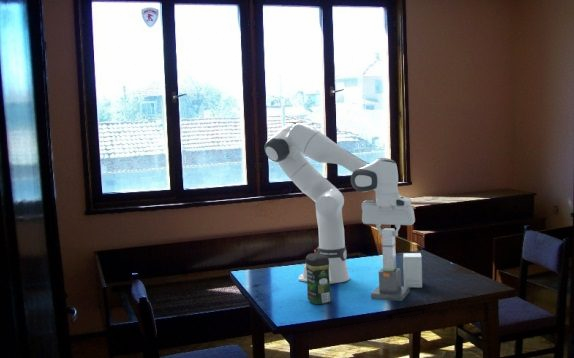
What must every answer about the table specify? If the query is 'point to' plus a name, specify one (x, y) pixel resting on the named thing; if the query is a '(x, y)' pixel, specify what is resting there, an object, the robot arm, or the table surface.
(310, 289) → the coffee jar
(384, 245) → the column
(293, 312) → the table surface
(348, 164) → the robot arm
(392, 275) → the stand
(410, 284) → the supplement box
